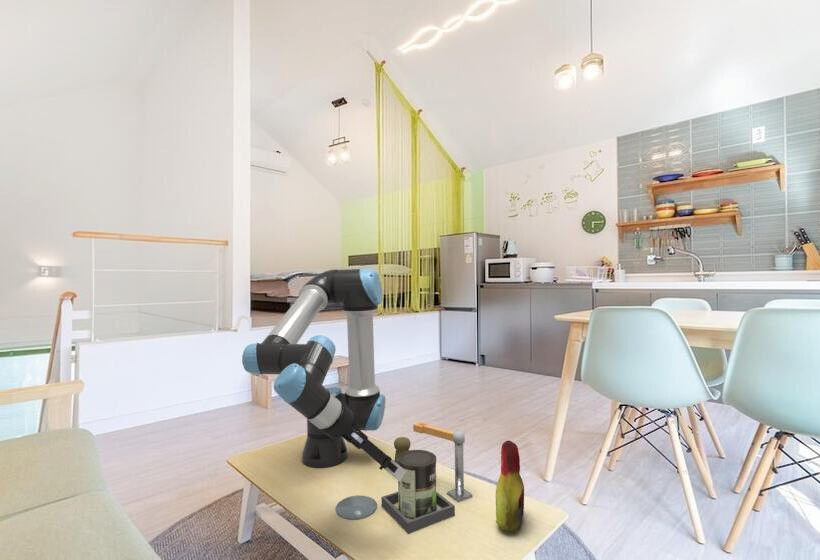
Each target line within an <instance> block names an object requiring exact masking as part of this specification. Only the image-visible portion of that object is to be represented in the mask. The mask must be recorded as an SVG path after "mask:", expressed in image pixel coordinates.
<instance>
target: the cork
mask: <svg viewBox="0 0 820 560" xmlns="http://www.w3.org/2000/svg"><path fill="white" fill-rule="evenodd" d="M393 446H394V449H395V452H394V453H395V454H394V461H395V462H396V463H397V464H398V462H397V457H398V455H399V454H401V453H403V452H405V451H409V450H410V449H411V439H409V438H408V437H405V436H400V437H397V438H395V440H394V442H393Z"/></svg>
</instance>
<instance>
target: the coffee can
mask: <svg viewBox="0 0 820 560" xmlns="http://www.w3.org/2000/svg"><path fill="white" fill-rule="evenodd" d="M397 462H398V465H399V466H401V467H402V468H403V469H404V470H405V471H406V473H405V475H404V476H403V477H402V479H401V480H400V482H399V481H398V480H397V485H398V487H397V488H398V489H397V492H398V503H397V504H398V508H397V509H398V510H399V511H400V512H401V513H402V514H403V515H404V516H405V517H406V518H407V519H408V520H412V519H415V518H417V517H420V516H423V515H426V514H428V513H431V512H434V511H436V510H438V508H437V506H438V504H436V492H437V455H436V454H435V453H433V452H431V451H428V450H425V449H409V451H405V452H403V453H401V454H399V455H398V457H397Z"/></svg>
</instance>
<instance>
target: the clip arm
mask: <svg viewBox="0 0 820 560" xmlns="http://www.w3.org/2000/svg"><path fill="white" fill-rule="evenodd" d="M412 426H413V427H412V428H413V432H415V433H418V434H425V435H429V436H433V437H435V438H440V439H444V440H446V441H450V442H453V444H455V443H456V444H462V443H463V444H465V441H466V440H465V439H466V437H465V436H466V435H465V431H463V430H461V429H459V430H458V429H457V430H456V429H455V430H454V431H452V430H449V429H445V428H443V427H442V428H441V427H437V426H434V425H431V424H429V423H426V422H422V421H418V422H416V423H413V425H412Z"/></svg>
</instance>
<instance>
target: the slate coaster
mask: <svg viewBox="0 0 820 560" xmlns="http://www.w3.org/2000/svg"><path fill="white" fill-rule="evenodd" d="M377 508H378V503H377V501H376V500H375V499H374V498H372V497H370V496H367V495H352V496H348V497H346V498H343V499H341V500H340V501H339V502H337V504H336V505H335V512H336V513H335V514H336V515H337V516H338V517H340V518H342V519H346V520H351V521H352V520H353V521H354V520H362V519H365V518H368V517H369V516H372V515H373V514H375V512H376V511H377Z"/></svg>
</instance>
